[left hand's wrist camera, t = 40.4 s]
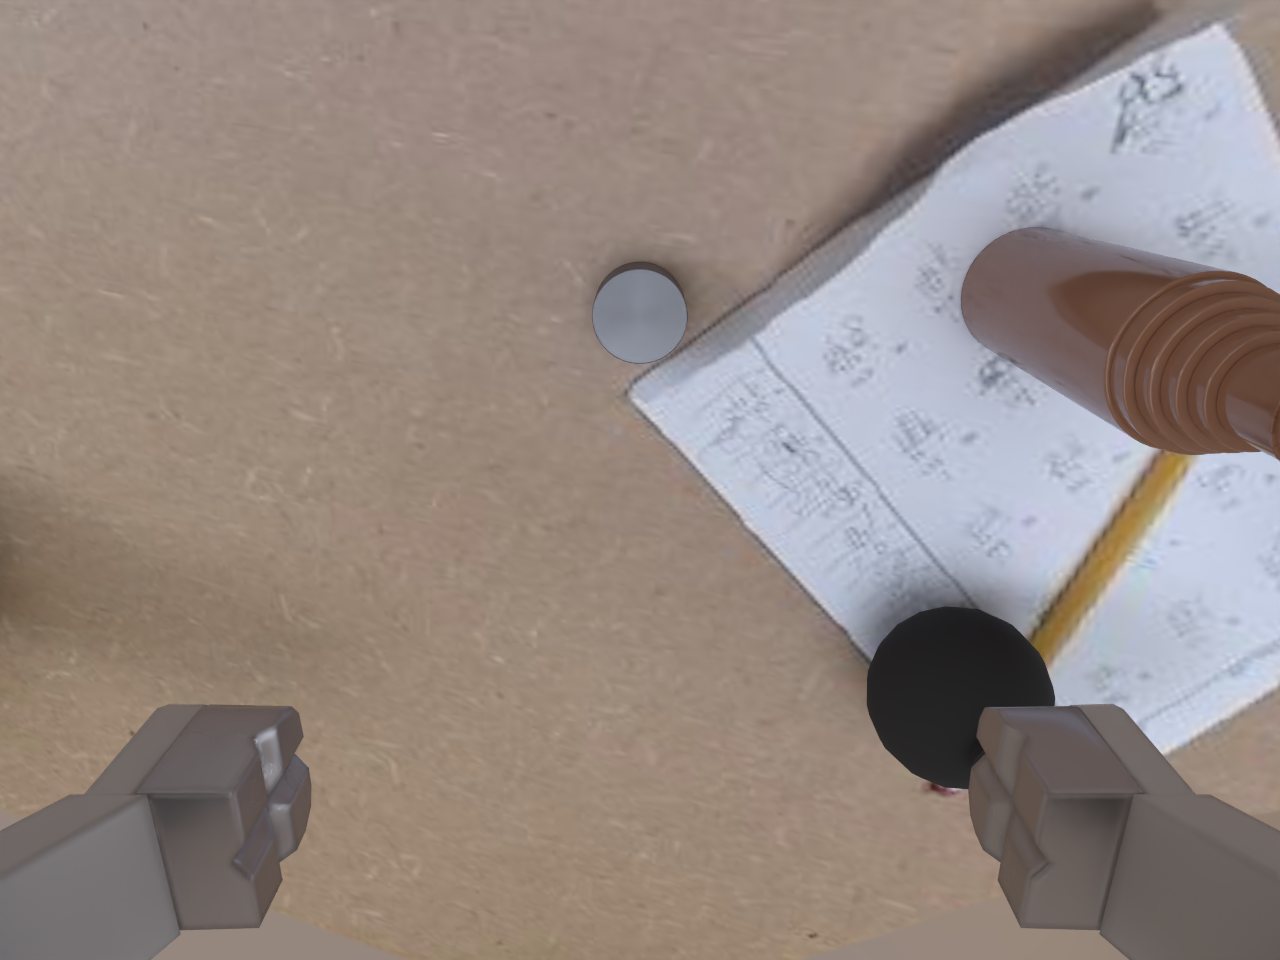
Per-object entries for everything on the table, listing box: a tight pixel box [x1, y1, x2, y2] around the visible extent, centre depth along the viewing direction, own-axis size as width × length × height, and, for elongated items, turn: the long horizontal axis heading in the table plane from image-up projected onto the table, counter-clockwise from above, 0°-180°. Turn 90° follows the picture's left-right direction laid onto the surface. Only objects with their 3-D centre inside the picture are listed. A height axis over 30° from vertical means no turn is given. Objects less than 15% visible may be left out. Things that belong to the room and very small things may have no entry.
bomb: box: [867, 607, 1055, 789], centre depth 38 cm, size 8×8×12 cm
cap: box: [592, 262, 687, 364], centre depth 37 cm, size 4×4×2 cm
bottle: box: [961, 227, 1280, 461], centre depth 29 cm, size 5×5×18 cm
